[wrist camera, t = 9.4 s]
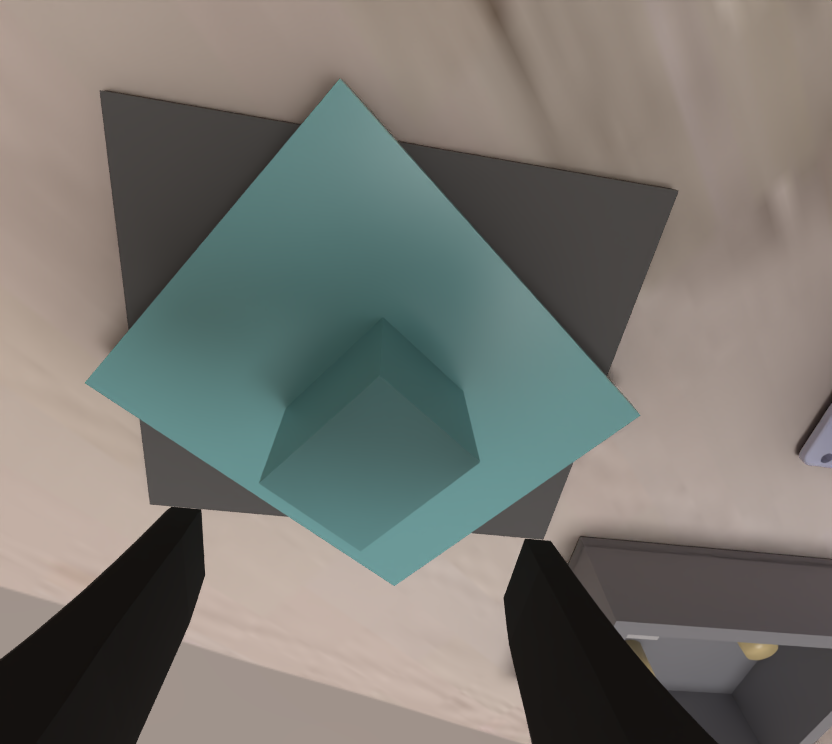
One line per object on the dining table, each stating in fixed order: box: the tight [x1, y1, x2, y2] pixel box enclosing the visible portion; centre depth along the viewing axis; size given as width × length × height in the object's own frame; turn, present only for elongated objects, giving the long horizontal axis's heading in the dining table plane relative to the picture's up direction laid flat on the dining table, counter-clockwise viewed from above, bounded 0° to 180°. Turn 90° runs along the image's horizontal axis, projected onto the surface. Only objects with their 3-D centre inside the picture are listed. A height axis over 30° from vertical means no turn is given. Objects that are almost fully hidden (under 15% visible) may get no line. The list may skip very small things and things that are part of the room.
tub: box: [527, 537, 832, 744], centre depth 26 cm, size 14×12×4 cm
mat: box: [100, 90, 678, 539], centre depth 19 cm, size 18×16×1 cm
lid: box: [85, 79, 640, 586], centre depth 17 cm, size 15×13×6 cm
